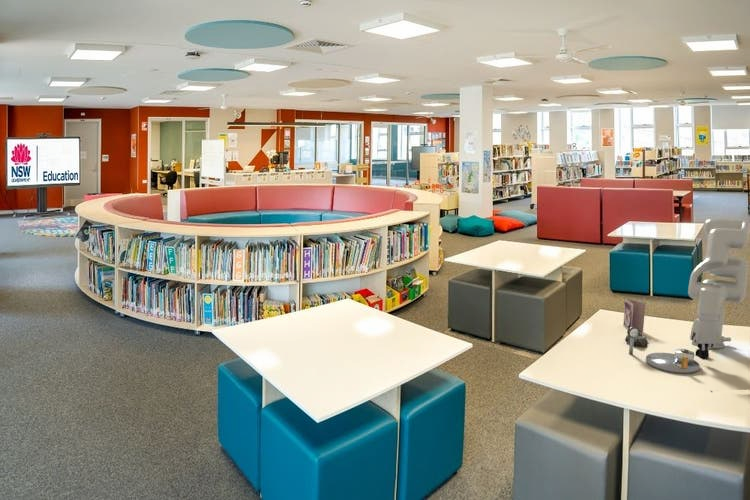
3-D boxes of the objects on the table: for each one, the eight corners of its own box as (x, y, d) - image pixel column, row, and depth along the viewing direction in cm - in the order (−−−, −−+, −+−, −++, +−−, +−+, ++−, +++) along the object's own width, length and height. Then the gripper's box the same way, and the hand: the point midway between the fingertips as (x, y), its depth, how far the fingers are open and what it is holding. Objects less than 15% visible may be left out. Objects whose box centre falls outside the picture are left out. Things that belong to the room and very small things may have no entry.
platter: (680, 355, 241) (681, 341, 240) (710, 373, 221) (712, 358, 220) (636, 356, 240) (637, 342, 239) (662, 374, 220) (664, 359, 219)
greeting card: (621, 325, 287) (623, 298, 284) (636, 326, 286) (638, 298, 283) (629, 332, 275) (631, 304, 273) (644, 333, 275) (647, 304, 272)
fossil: (653, 350, 250) (644, 331, 249) (633, 357, 252) (624, 338, 252) (647, 341, 260) (638, 323, 259) (628, 348, 263) (619, 330, 262)
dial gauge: (639, 354, 246) (642, 324, 244) (647, 358, 240) (650, 328, 238) (620, 354, 246) (623, 324, 243) (627, 359, 240) (630, 329, 237)
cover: (686, 357, 234) (687, 347, 233) (697, 363, 227) (698, 353, 227) (670, 358, 234) (672, 347, 233) (680, 364, 227) (682, 353, 226)
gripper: (718, 313, 232) (713, 354, 235) (684, 314, 231) (680, 355, 234) (731, 319, 224) (726, 361, 228) (696, 319, 224) (691, 362, 227)
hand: (702, 358), depth 231 cm, fingers closed
